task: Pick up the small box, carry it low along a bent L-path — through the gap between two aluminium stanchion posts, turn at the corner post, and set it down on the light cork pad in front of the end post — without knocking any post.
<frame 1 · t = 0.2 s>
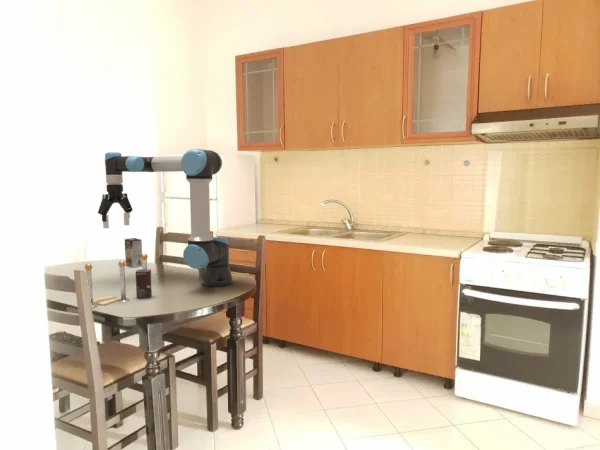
hand: (116, 226, 217), 28 cm above the table, fingers open, 13 cm apart
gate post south: (145, 292, 200), on the table
end post: (90, 306, 178), on the table
coffee box: (134, 266, 258), on the table
pad: (105, 301, 185), on the table
corner post: (123, 301, 187), on the table, touching pad
box: (144, 297, 191), on the table
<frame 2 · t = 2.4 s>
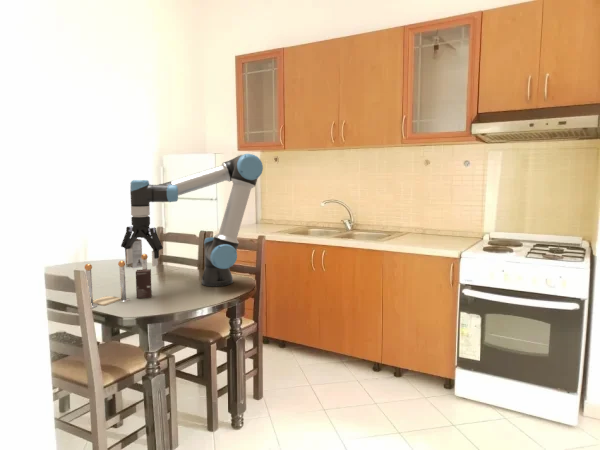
hand: (142, 264, 190), 14 cm above the table, fingers open, 13 cm apart
nothing on the table moved.
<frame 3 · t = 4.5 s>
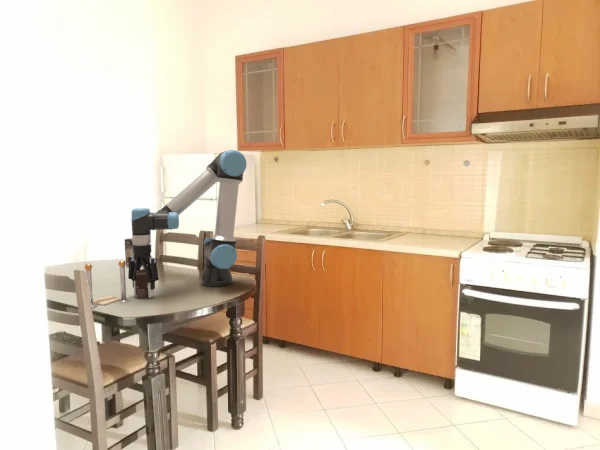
hand: (144, 295, 191), 1 cm above the table, fingers closed on box, 7 cm apart
box: (144, 297, 191), on the table, touching gripper
everything else where it was.
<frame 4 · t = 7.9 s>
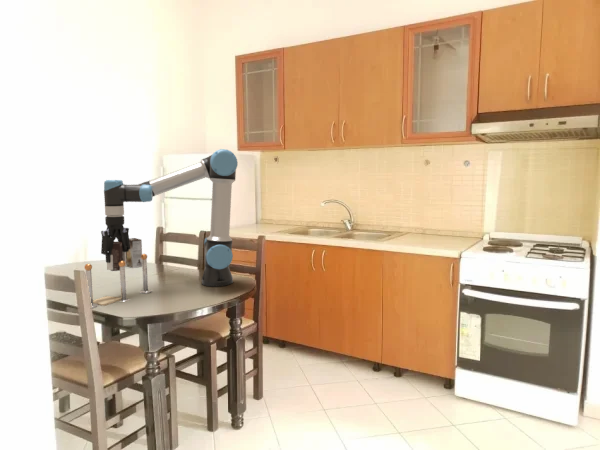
hand: (116, 267, 191), 13 cm above the table, fingers closed on box, 7 cm apart
box: (117, 269, 191), point 12 cm above the table, touching gripper
everything else where it was.
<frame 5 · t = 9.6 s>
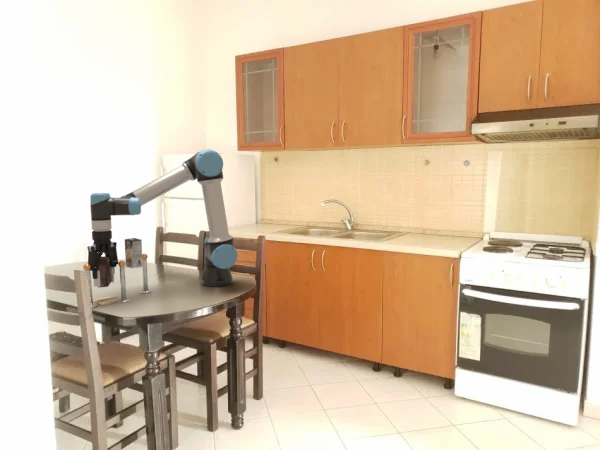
hand: (104, 283, 184), 8 cm above the table, fingers closed on box, 7 cm apart
box: (104, 285, 184), point 7 cm above the table, touching gripper
everything else where it was.
when the fingers open (2 cm above the table, at t = 11.2 s): box drops 1 cm, resting on pad.
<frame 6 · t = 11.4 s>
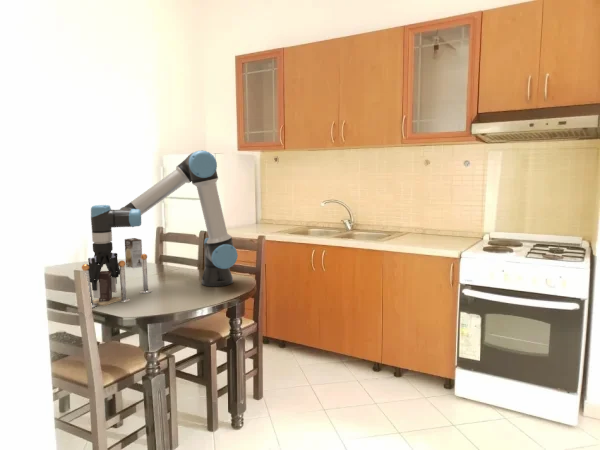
hand: (105, 294, 185), 3 cm above the table, fingers open, 8 cm apart
box: (106, 300, 185), resting on pad
everything else where it was.
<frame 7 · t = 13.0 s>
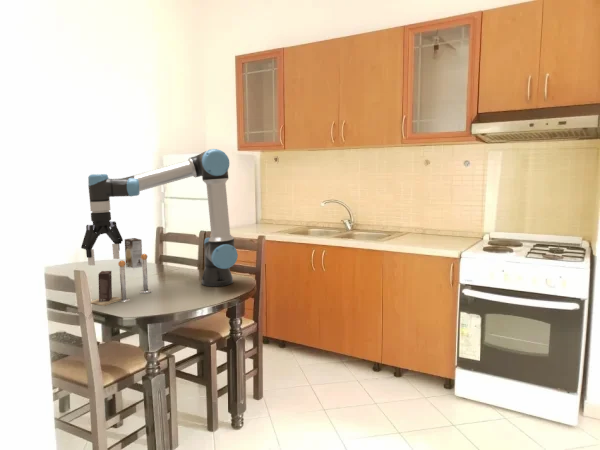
hand: (104, 261, 183), 17 cm above the table, fingers open, 13 cm apart
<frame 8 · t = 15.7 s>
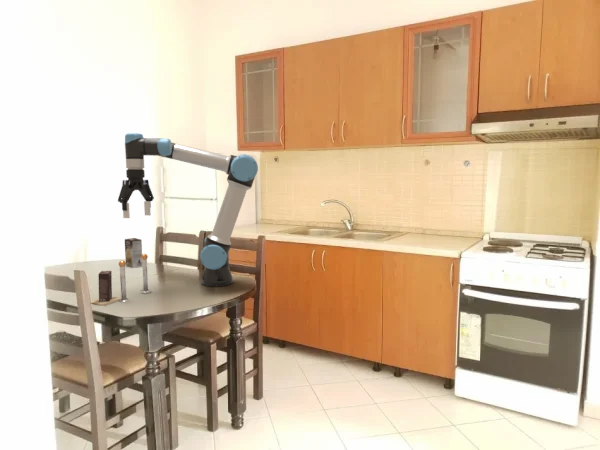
hand: (137, 216, 196), 35 cm above the table, fingers open, 13 cm apart
at the end: box inside the target area on the pad (0.2 cm from its centre), point 0.4 cm above the pad's base; box tilted 0°; corner post moved 0.6 cm from its start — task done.
